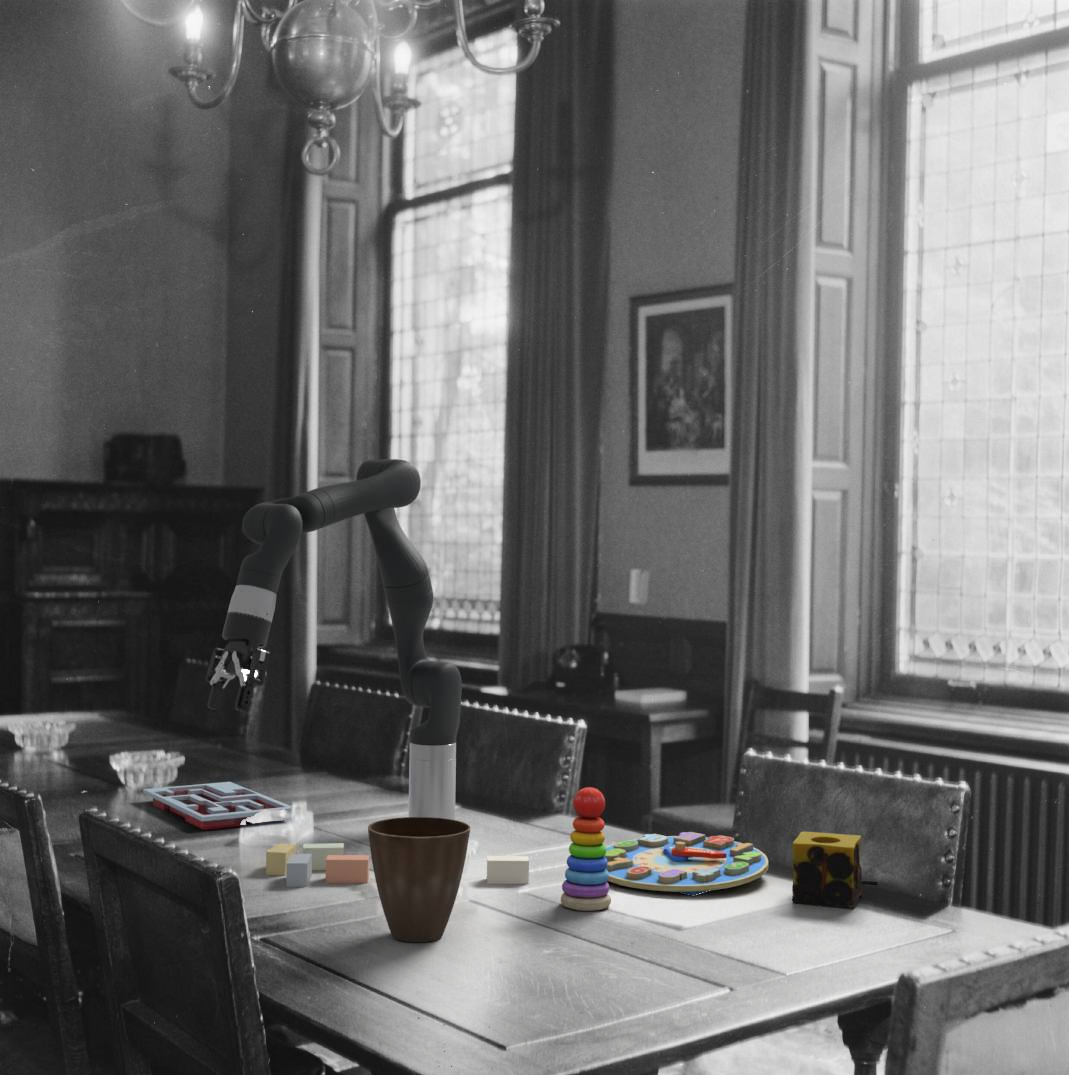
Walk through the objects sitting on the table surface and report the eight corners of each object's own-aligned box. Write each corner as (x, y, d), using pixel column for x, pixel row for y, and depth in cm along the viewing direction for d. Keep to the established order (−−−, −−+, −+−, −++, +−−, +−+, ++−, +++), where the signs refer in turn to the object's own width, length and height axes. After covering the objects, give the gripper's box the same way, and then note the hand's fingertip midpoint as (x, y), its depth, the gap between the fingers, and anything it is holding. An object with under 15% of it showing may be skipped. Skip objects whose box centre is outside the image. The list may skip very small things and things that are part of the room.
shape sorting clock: (554, 876, 246) (555, 841, 246) (662, 849, 268) (663, 817, 268) (698, 909, 225) (698, 872, 225) (802, 878, 247) (802, 843, 247)
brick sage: (303, 866, 249) (303, 843, 249) (343, 865, 250) (343, 843, 250) (302, 871, 245) (303, 848, 245) (343, 870, 246) (343, 847, 246)
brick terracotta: (327, 878, 240) (327, 855, 240) (369, 878, 241) (369, 855, 241) (325, 883, 237) (325, 859, 237) (367, 883, 237) (367, 860, 237)
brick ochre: (265, 875, 242) (266, 852, 242) (277, 866, 249) (278, 843, 249) (285, 876, 242) (285, 852, 242) (296, 866, 249) (296, 844, 249)
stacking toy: (606, 914, 220) (608, 793, 220) (556, 910, 222) (558, 791, 222) (614, 901, 228) (616, 785, 228) (565, 898, 229) (567, 782, 229)
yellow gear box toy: (862, 895, 235) (863, 835, 235) (855, 910, 225) (856, 847, 225) (800, 889, 238) (801, 830, 238) (791, 904, 228) (792, 842, 228)
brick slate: (286, 887, 234) (286, 863, 234) (291, 877, 241) (291, 853, 241) (306, 887, 234) (307, 863, 234) (311, 877, 241) (311, 854, 241)
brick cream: (486, 879, 242) (487, 856, 242) (527, 879, 242) (528, 856, 242) (487, 884, 238) (487, 860, 238) (528, 884, 239) (528, 861, 239)
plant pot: (374, 920, 214) (375, 815, 214) (472, 923, 214) (474, 817, 214) (358, 949, 199) (360, 835, 199) (464, 952, 199) (466, 838, 199)
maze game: (295, 823, 286) (295, 808, 286) (202, 833, 275) (202, 817, 275) (229, 796, 315) (229, 781, 315) (142, 804, 304) (143, 789, 304)
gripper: (291, 621, 238) (268, 716, 233) (245, 622, 248) (222, 713, 244) (254, 609, 233) (230, 706, 229) (209, 610, 243) (185, 703, 239)
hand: (226, 709), depth 236 cm, fingers open, 8 cm apart
